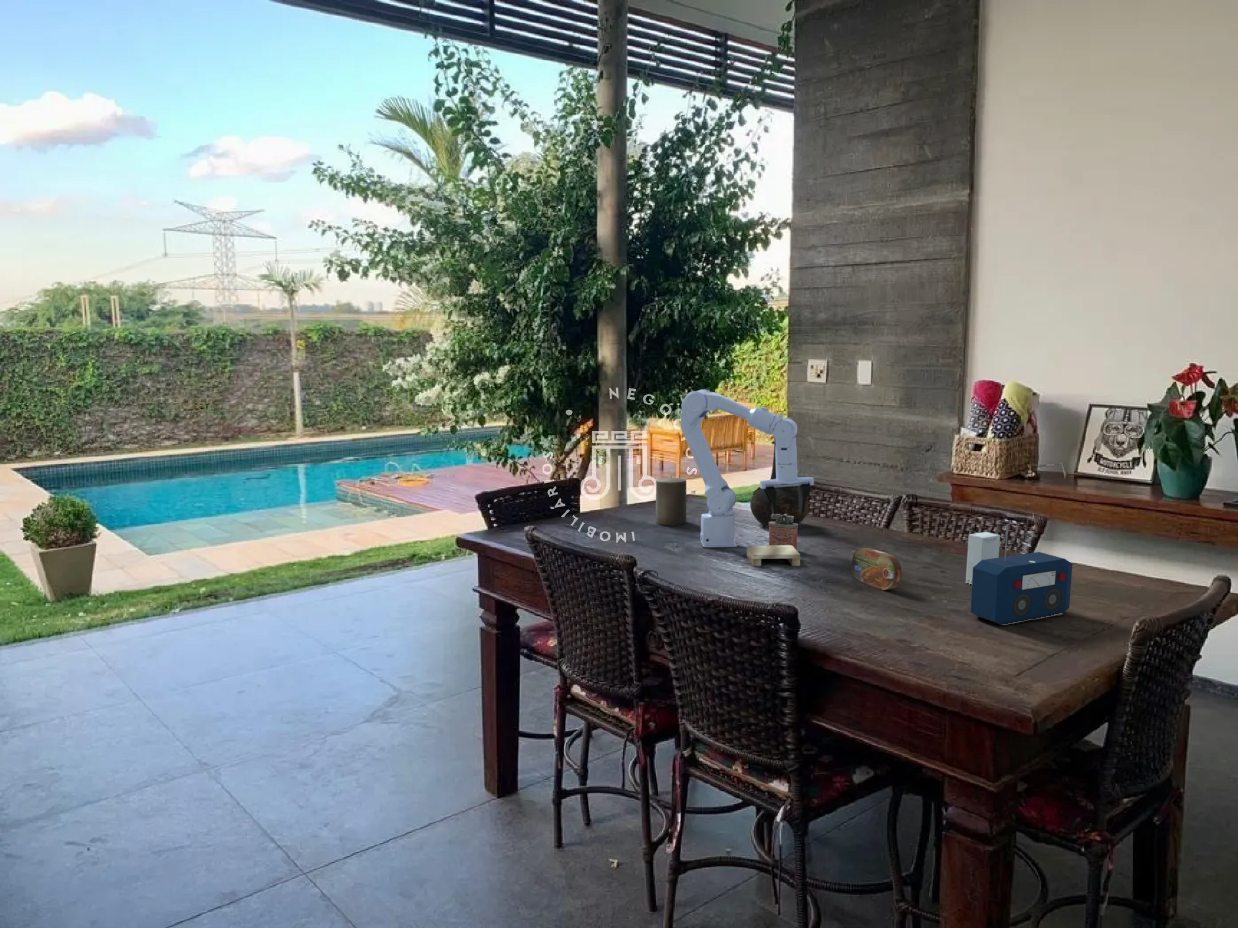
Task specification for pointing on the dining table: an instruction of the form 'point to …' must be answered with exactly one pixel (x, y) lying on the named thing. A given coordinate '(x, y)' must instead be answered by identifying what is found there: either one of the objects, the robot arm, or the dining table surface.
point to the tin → (876, 568)
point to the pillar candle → (671, 501)
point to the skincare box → (981, 550)
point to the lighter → (783, 531)
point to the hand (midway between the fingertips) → (787, 512)
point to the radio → (1020, 587)
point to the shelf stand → (773, 554)
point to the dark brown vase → (777, 502)
